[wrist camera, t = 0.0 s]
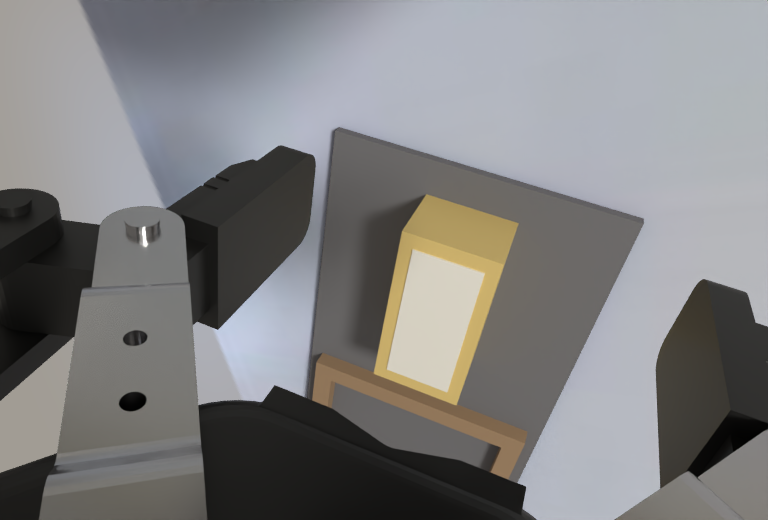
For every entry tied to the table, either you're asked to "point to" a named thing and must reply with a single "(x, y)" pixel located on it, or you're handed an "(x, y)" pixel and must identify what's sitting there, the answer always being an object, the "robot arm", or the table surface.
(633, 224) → the mat
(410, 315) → the card box
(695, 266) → the table surface
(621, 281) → the table surface
